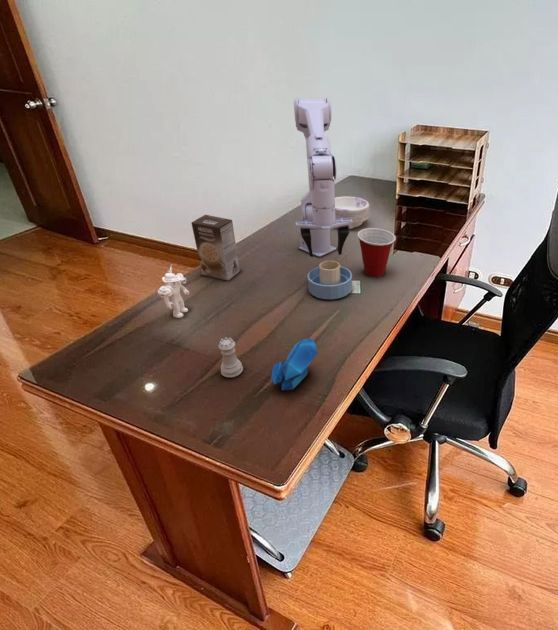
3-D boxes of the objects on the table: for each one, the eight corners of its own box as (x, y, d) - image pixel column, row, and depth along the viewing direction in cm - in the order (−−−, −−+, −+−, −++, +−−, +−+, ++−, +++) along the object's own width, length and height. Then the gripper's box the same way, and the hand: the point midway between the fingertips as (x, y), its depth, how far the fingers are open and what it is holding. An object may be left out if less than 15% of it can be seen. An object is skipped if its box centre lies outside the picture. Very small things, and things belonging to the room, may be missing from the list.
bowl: (299, 290, 119) (298, 276, 117) (329, 274, 127) (329, 261, 125) (331, 305, 113) (330, 291, 111) (360, 288, 121) (360, 274, 118)
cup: (316, 288, 119) (314, 265, 116) (330, 281, 123) (329, 258, 119) (330, 295, 117) (330, 272, 113) (344, 287, 120) (344, 264, 116)
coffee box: (200, 275, 125) (189, 222, 116) (214, 265, 130) (204, 214, 121) (228, 281, 123) (218, 227, 114) (241, 271, 128) (232, 218, 119)
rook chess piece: (223, 365, 93) (216, 334, 88) (244, 364, 93) (239, 334, 89) (219, 379, 89) (212, 348, 85) (241, 378, 89) (235, 347, 85)
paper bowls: (376, 221, 162) (377, 200, 158) (353, 235, 151) (353, 213, 147) (343, 213, 169) (343, 192, 164) (318, 225, 158) (317, 203, 154)
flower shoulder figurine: (182, 302, 113) (172, 261, 106) (196, 304, 112) (186, 262, 106) (162, 322, 105) (149, 278, 99) (177, 324, 105) (165, 280, 98)
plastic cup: (390, 283, 124) (392, 244, 117) (353, 278, 125) (353, 240, 119) (396, 266, 133) (398, 229, 126) (361, 262, 134) (362, 225, 128)
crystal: (258, 368, 82) (290, 324, 89) (269, 394, 88) (298, 351, 96) (292, 379, 79) (322, 333, 87) (301, 405, 86) (328, 360, 93)
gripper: (295, 212, 105) (299, 262, 113) (354, 209, 108) (354, 259, 115) (293, 202, 111) (297, 250, 119) (350, 199, 113) (350, 247, 121)
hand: (325, 254), depth 117 cm, fingers open, 7 cm apart
